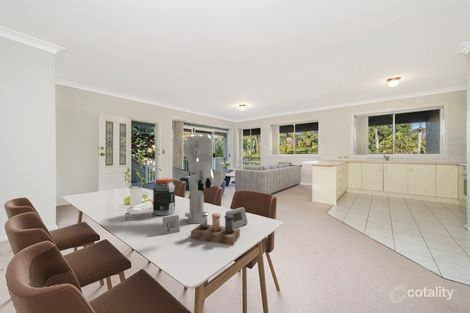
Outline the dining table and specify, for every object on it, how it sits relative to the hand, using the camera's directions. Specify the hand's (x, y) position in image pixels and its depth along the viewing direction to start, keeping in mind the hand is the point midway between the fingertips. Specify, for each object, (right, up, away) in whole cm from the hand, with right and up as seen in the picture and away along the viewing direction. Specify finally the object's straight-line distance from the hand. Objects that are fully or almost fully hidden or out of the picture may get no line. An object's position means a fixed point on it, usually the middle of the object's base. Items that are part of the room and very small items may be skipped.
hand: (204, 189), depth 109 cm
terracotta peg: (+7, -23, -2) cm, 24 cm away
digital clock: (+18, -26, +15) cm, 36 cm away
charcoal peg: (+14, -23, -4) cm, 27 cm away
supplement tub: (-37, -25, +39) cm, 60 cm away
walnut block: (+7, -26, -2) cm, 27 cm away
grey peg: (-1, -23, 0) cm, 23 cm away
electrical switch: (-21, -26, +5) cm, 34 cm away
